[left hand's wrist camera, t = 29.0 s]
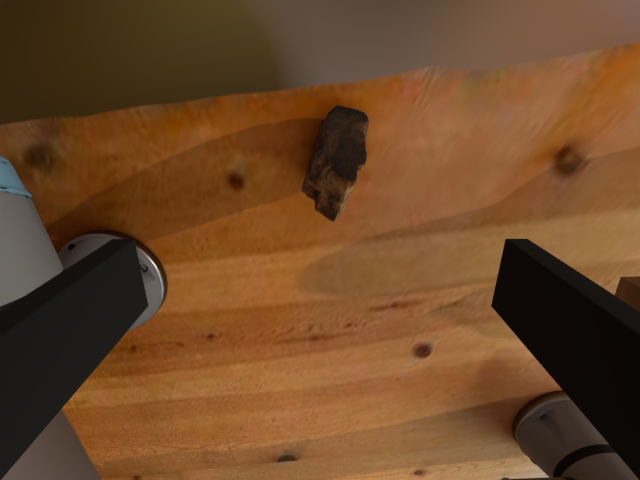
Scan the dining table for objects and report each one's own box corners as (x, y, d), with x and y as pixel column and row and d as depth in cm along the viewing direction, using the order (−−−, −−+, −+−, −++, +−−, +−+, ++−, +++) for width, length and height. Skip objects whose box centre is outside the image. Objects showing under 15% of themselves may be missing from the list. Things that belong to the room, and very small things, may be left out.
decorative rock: (337, 204, 46) (341, 232, 36) (295, 188, 46) (288, 211, 36) (375, 117, 42) (392, 122, 32) (330, 98, 42) (333, 96, 32)
